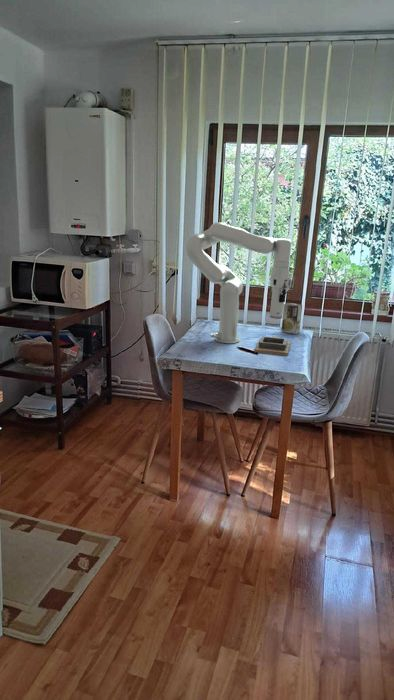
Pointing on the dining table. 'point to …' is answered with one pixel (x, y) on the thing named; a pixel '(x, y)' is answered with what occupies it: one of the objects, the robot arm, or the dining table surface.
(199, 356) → the dining table surface
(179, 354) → the dining table surface
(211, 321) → the dining table surface
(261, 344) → the pocket board
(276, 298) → the travel mug
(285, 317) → the coffee box
